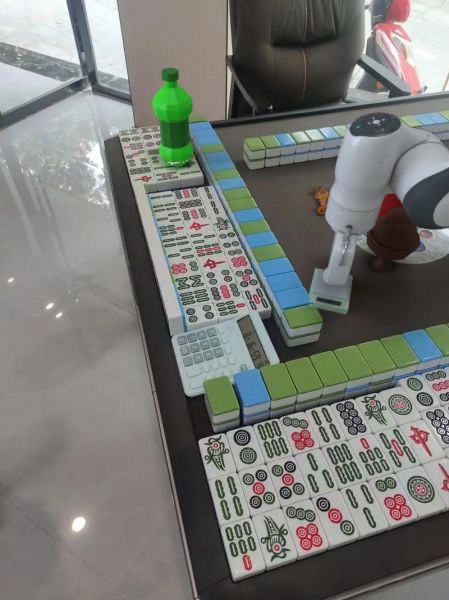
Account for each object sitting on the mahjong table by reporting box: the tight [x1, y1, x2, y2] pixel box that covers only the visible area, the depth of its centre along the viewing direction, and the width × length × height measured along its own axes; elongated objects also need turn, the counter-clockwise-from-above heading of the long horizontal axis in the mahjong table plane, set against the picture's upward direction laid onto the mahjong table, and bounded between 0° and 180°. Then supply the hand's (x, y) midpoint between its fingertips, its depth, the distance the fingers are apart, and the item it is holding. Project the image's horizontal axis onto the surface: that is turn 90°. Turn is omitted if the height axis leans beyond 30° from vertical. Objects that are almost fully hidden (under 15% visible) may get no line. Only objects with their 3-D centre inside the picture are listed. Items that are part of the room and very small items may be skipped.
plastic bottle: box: [151, 67, 195, 168], centre depth 116 cm, size 10×10×25 cm
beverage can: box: [377, 193, 403, 219], centre depth 103 cm, size 7×7×12 cm
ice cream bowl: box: [366, 207, 421, 271], centre depth 90 cm, size 11×11×15 cm
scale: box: [308, 267, 354, 315], centre depth 89 cm, size 8×10×3 cm
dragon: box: [311, 184, 330, 215], centre depth 111 cm, size 4×11×4 cm, turn 178°
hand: (336, 268), depth 85 cm, fingers closed on rook chess piece, 3 cm apart
